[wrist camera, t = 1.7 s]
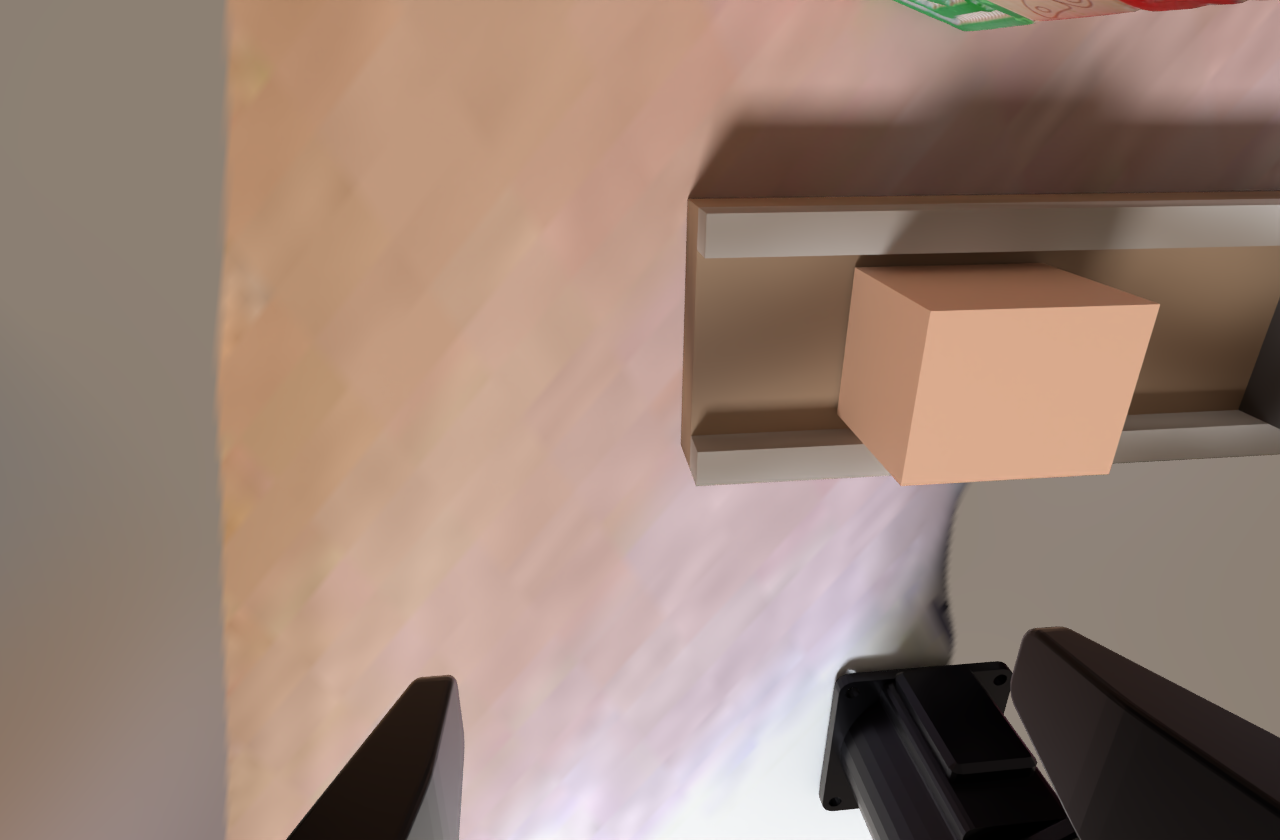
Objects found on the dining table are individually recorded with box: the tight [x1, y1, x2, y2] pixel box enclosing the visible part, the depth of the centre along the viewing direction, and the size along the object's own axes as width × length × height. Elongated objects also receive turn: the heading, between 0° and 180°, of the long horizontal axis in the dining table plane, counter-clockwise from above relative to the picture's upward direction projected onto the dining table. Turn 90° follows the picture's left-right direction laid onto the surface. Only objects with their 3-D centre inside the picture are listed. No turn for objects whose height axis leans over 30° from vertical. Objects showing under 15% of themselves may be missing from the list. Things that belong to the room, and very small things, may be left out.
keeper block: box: [837, 263, 1160, 486], centre depth 18 cm, size 4×5×4 cm
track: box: [681, 191, 1280, 486], centre depth 19 cm, size 7×17×4 cm, turn 90°
